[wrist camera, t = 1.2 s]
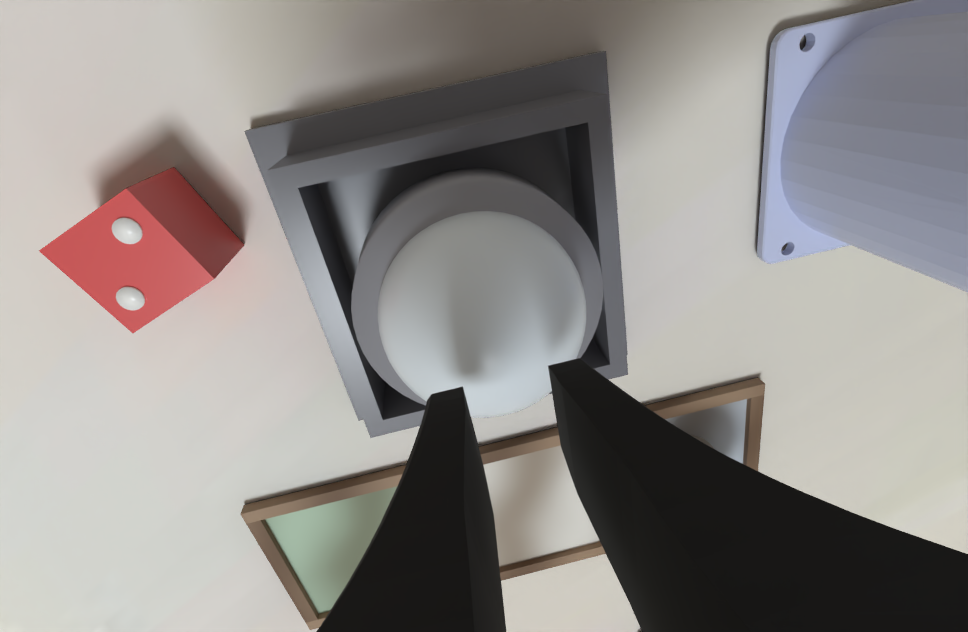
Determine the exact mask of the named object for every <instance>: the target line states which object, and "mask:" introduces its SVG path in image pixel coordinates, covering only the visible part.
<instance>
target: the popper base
mask: <svg viewBox="0 0 968 632" xmlns="http://www.w3.org/2000/svg"><path fill="white" fill-rule="evenodd" d="M245 134H246V136H247V139H248V141H249V144H250V147H251V149H252V152H253V154H254V157H255V159H256V162H257V164H258V167H259V169H260V172H261V174H262V177H263V179H264V182H265V185H266V187H267V190H268V192H269V195H270V197H271V200H272V202H273V205H274V207H275V210H276V212H277V215H278V217H279V220H280V223H281V225H282V228H283V230H284V233H285V235H286V238H287V240H288V243H289V245H290V248H291V250H292V253H293V255H294V258H295V261H296V263H297V266H298V268H299V271H300V273H301V276H302V278H303V281H304V283H305V286H306V288H307V291H308V293H309V296H310V299H311V301H312V304H313V306H314V309H315V311H316V314H317V316H318V319H319V321H320V324H321V326H322V329H323V331H324V334H325V337H326V339H327V342H328V344H329V347H330V349H331V352H332V354H333V357H334V359H335V362H336V364H337V367H338V370H339V372H340V375H341V377H342V380H343V382H344V385H345V387H346V390H347V392H348V395H349V397H350V400H351V402H352V405H353V408H354V410H355V413H356V415H357V418H358V420H363V419H364V422H365V424H366V427H367V430H368V432H369V435H370V437H371V438H372V437H376V436H380V435H384V434H388V433H392V432H396V431H400V430H405V429H409V428H413V427H417V426H420V425H421V422H422V418H423V415H424V411H425V407H426V405H423V404H420V403H418V402H416V401H414V400H412V399H410V398H408V397H406V396H404V395H402V394H401V393H400V392H398V391H397V390H395V389H394V388H392V387H391V386H390V385H389V384H388V383H387V382H386V381H384V380H383V379H382V378H381V377H380V376H379V375H378V373H377V372H376V371H375V370H374V369H373V367H372V366H371V365H370V363H369V362H368V360H367V358H366V357H365V355H364V354H363V352H362V349H361V347H360V345H359V343H358V340H357V337H356V333H355V330H354V326H353V320H352V312H351V301H352V290H353V284H354V278H355V274H356V270H357V265H358V261H359V257H360V253H361V250H362V247H363V244H364V241H365V238H366V236H367V234H368V232H369V230H370V228H371V226H372V224H373V223H374V221H375V220H376V218H377V217H378V215H379V214H380V213H381V211H382V210H383V209H384V208H385V207H386V206H387V205H388V204H389V203H390V202H391V201H392V200H393V199H394V198H395V197H396V196H398V195H399V194H400V193H401V192H402V191H404V190H405V189H407V188H408V187H410V186H412V185H413V184H415V183H416V182H418V181H421V180H423V179H425V178H427V177H429V176H432V175H435V174H438V173H441V172H445V171H449V170H455V169H461V168H486V169H495V170H499V171H503V172H507V173H511V174H513V175H516V176H518V177H521V178H523V179H526V180H527V181H529V182H531V183H532V184H534V185H536V186H537V187H539V188H540V189H541V190H543V191H544V192H545V193H546V194H548V195H549V196H550V197H551V198H552V199H553V200H555V201H556V202H557V203H558V204H559V205H560V206H561V207H562V208H563V209H564V210H565V211H567V212H568V213H569V214H570V215H571V216H572V217H573V218H574V220H575V221H576V222H577V223H578V224H579V225H580V226H581V227H582V229H583V230H584V232H585V233H586V235H587V236H588V238H589V239H590V241H591V243H592V245H593V247H594V249H595V252H596V254H597V257H598V261H599V264H600V267H601V273H602V279H603V301H602V310H601V314H600V318H599V322H598V325H597V328H596V330H595V333H594V335H593V338H592V340H591V342H590V343H589V345H588V347H587V349H586V351H585V352H584V354H583V355H582V356H581V358H580V359H581V360H583V361H584V362H586V363H587V364H588V365H590V366H591V367H592V368H594V369H595V370H596V371H598V372H599V373H600V374H601V375H603V376H604V377H605V378H607V379H612V378H616V377H620V376H624V375H628V368H627V341H626V327H625V313H624V299H623V285H622V271H621V257H620V242H619V228H618V214H617V200H616V186H615V172H614V158H613V144H612V130H611V115H610V101H609V87H608V73H607V59H606V51H603V52H596V53H591V54H587V55H582V56H578V57H573V58H569V59H564V60H560V61H555V62H551V63H546V64H542V65H537V66H532V67H528V68H523V69H519V70H514V71H510V72H505V73H501V74H496V75H492V76H487V77H483V78H478V79H474V80H469V81H465V82H460V83H456V84H451V85H447V86H442V87H438V88H433V89H429V90H424V91H420V92H415V93H410V94H406V95H401V96H397V97H392V98H388V99H383V100H379V101H374V102H370V103H365V104H361V105H356V106H352V107H347V108H343V109H338V110H334V111H329V112H325V113H320V114H316V115H311V116H307V117H302V118H298V119H293V120H288V121H284V122H279V123H275V124H270V125H266V126H261V127H257V128H252V129H249V130H246V131H245ZM551 393H552V391H551V392H550V393H549V394H551Z"/></svg>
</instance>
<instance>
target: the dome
mask: <svg viewBox="0 0 968 632" xmlns="http://www.w3.org/2000/svg"><path fill="white" fill-rule="evenodd" d="M602 301H603V279H602V273H601V267H600V264H599V261H598V257H597V254H596V252H595V249H594V247H593V245H592V243H591V241H590V239H589V238H588V236H587V235H586V233H585V232H584V230H583V229H582V227H581V226H580V225H579V224H578V223H577V222H576V221H575V220H574V218H573V217H572V216H571V215H570V214H569V213H568V212H567V211H565V210H564V209H563V208H562V207H561V206H560V205H559V204H558V203H557V202H556V201H555V200H553V199H552V198H551V197H550V196H549V195H548V194H546V193H545V192H544V191H543V190H541V189H540V188H539V187H537V186H536V185H534V184H532V183H531V182H529V181H527V180H526V179H523V178H521V177H518V176H516V175H513V174H511V173H507V172H503V171H499V170H495V169H486V168H461V169H455V170H449V171H445V172H441V173H438V174H435V175H432V176H429V177H427V178H425V179H423V180H421V181H418V182H416V183H415V184H413V185H412V186H410V187H408V188H407V189H405V190H404V191H402V192H401V193H400V194H399V195H398V196H396V197H395V198H394V199H393V200H392V201H391V202H390V203H389V204H388V205H387V206H386V207H385V208H384V209H383V210H382V211H381V213H380V214H379V215H378V217H377V218H376V220H375V221H374V223H373V224H372V226H371V228H370V230H369V232H368V234H367V236H366V238H365V241H364V244H363V247H362V250H361V253H360V257H359V261H358V265H357V270H356V274H355V278H354V284H353V290H352V301H351V312H352V320H353V326H354V330H355V333H356V337H357V340H358V343H359V345H360V347H361V349H362V352H363V354H364V355H365V357H366V358H367V360H368V362H369V363H370V365H371V366H372V367H373V369H374V370H375V371H376V372H377V373H378V375H379V376H380V377H381V378H382V379H383V380H384V381H386V382H387V383H388V384H389V385H390V386H391V387H392V388H394V389H395V390H397V391H398V392H400V393H401V394H402V395H404V396H406V397H408V398H410V399H412V400H414V401H416V402H418V403H420V404H423V405H426V403H427V400H428V398H429V397H430V395H431V394H434V393H438V392H442V391H446V390H450V389H454V388H459V387H463V389H464V393H465V397H466V400H467V404H468V408H469V412H470V416H471V417H474V418H489V417H498V416H503V415H508V414H511V413H515V412H518V411H520V410H523V409H525V408H527V407H529V406H531V405H533V404H535V403H537V402H538V401H540V400H541V399H542V398H544V397H545V396H547V395H548V394H549V393H550V392H551V391H552V388H551V382H550V375H549V369H548V366H549V365H553V364H557V363H561V362H565V361H569V360H573V359H578V358H581V356H582V355H583V354H584V352H585V351H586V349H587V347H588V345H589V343H590V342H591V340H592V338H593V335H594V333H595V330H596V328H597V325H598V322H599V318H600V314H601V310H602Z"/></svg>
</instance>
